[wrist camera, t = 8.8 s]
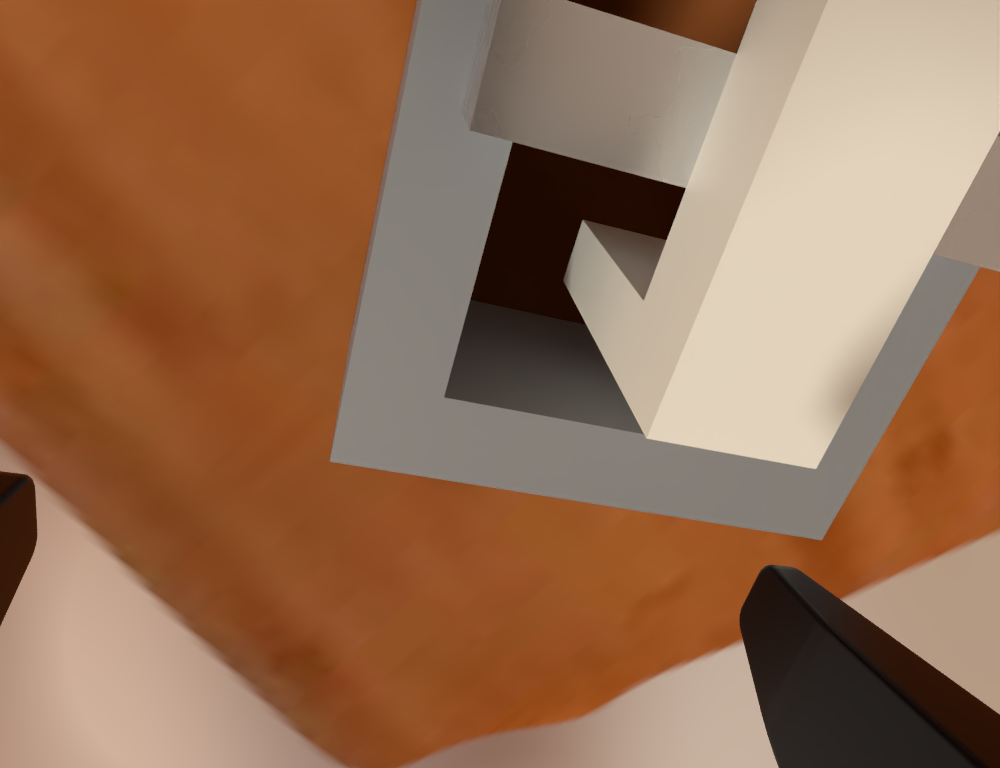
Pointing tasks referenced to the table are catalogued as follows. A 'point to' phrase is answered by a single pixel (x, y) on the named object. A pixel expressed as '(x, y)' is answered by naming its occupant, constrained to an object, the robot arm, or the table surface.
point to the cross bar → (639, 102)
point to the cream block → (797, 223)
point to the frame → (549, 345)
